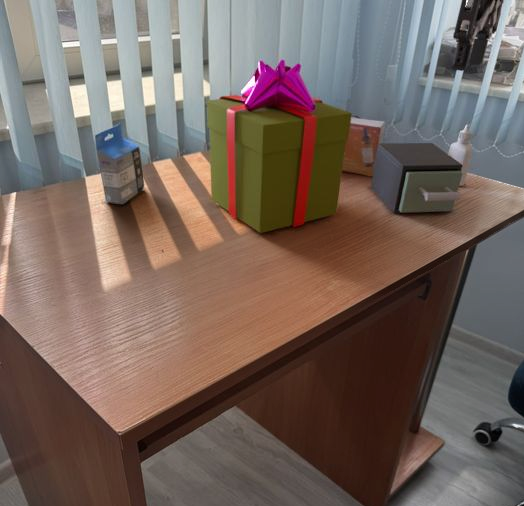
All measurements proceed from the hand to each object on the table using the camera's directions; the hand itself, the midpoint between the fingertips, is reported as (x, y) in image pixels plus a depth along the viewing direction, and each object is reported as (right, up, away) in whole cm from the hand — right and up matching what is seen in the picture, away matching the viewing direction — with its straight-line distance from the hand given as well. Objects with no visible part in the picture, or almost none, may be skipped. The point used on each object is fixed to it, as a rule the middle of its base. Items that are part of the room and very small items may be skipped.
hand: (467, 66), depth 87 cm
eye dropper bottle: (+8, -10, +28) cm, 31 cm away
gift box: (-32, -21, +12) cm, 40 cm away
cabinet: (-4, -17, +19) cm, 26 cm away
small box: (-12, -6, +32) cm, 35 cm away
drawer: (-4, -19, +15) cm, 24 cm away
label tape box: (-61, -17, +15) cm, 65 cm away
